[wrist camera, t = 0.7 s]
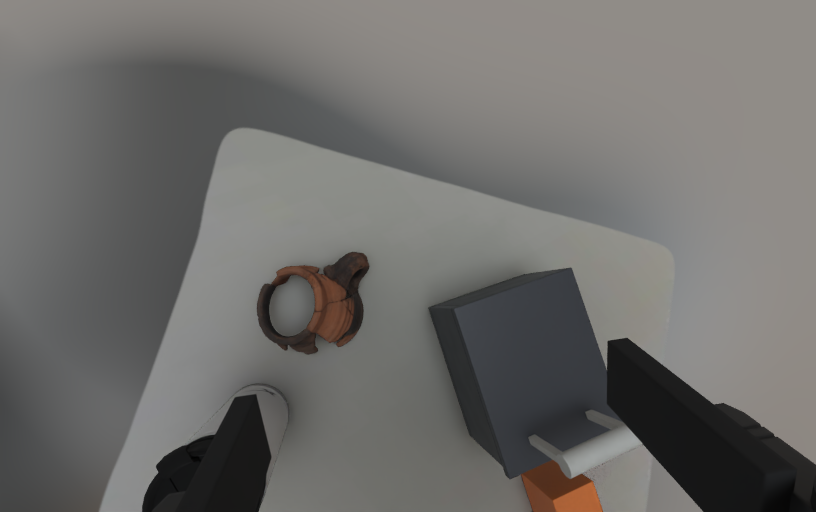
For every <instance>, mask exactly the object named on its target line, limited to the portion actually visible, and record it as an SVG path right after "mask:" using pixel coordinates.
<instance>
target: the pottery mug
mask: <svg viewBox="0 0 816 512" xmlns="http://www.w3.org/2000/svg"><path fill="white" fill-rule="evenodd" d="M368 269H369V263H368V260H367V257H366V256H365V255H364V254H363V253H357V252H351V253H348V254H346V255H345V256H343V257H342V258H340V259H339V260H338V261H337V262H336V263H335V264H333V265H328V266H326V267H325V268H324V270H323V271H324V274H325V275H323V274H319V273H318V272H319V268H317V267H313V266H305V265H304V266H290V267H285V268H282V269H280V270H278V271H277V272H276V273H277V277H276V278H275V279H274V281H273V282H272V284H264V285H263V287H262V289H261V291H260V294H259V298H258V303H257V315H258V317H259V318H258V320H259V324H260V327H261V328H262V331H263V333H264V334H265V335H266V336H267V337H268V338H269V339H270V340H272V341H273V342H274V343H277V344H278V345H279V346H280V347H281V348H282V349H284V350H285V351H286V350H287V349H288V347H287V346H288V345H289V346H290V347H291V348H292V349H294V350H296V351H298V352H304V353H305V354H312V353H316V352H317V351H318V348H317V347H316V346H315V338H316V334H318V335H319V336H321V337H322V338H324V339H325V340H326V341H328V342H329V343H331V342H336V341H338V340H339V339H340V337H341V336H343V338H342V339H341V340H340V341H339V342H337V343H336V345H337V346H338V347H341V346H343V345H344V344H346V343H347V342H349V341H350V340H351V339H352V338H353V337H354V336H355V335H356V333H357V332H358V330H359V328H360V326H361V323H362V320H363V304H362V301H361V298H360V296H359V293H358V290H357V289H358V286H359V283H360V281H361V279H362V278H363V277H364V275H365V274H366V273H367V271H368ZM291 275H298V276H301V277H303V278H305V279H306V280H308V282H309V283H310V285H311V287H312V289H313V291H314V296H315V309H314V313H313V316H312V319H311V321H310V322H309V324H308V325H307V327H306V329H305V330H303V331H302V332H301V333H299V334H297V335H295V336H290V337H287V336H282V335H281V334H279V333H278V332H277V331H276V330H275V329H274V327H273V326H272V323H271V320H270V315H269V304H270V299H271V296H272V294H273V292H274V290H275V288H276V287H277V286H278V285H281V284H284V283H286V282H287V280H288V279H289V277H290V276H291ZM346 291H347V292H348V294H349V295H350V296H349V297H347V298H346V294H347V293H346Z"/></svg>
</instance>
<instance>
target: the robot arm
mask: <svg viewBox="0 0 816 512" xmlns="http://www.w3.org/2000/svg"><path fill="white" fill-rule="evenodd" d="M607 405H608V406H609V407H610V408H611V409H612V410H613V411H614V412H615V414H616V415H617V416H618V417H619V418H620V419H621V420H622V421H623V422H624V424H625V425H626V426H627V427H628V428H629V429H630V430H631V431H632V433H633V434H634V435H635V436H636V437H637V438H638V439H639V440H640V441H641V443H642V444H643V445H644V446H645V447H646V448H647V449H648V450H649V451H650V453H651V454H652V455H653V456H654V457H655V458H656V459H657V460H658V461H659V463H660V464H661V465H662V466H663V467H664V468H665V469H666V470H667V472H668V473H669V474H670V475H671V476H672V477H673V478H674V479H675V480H676V481H677V483H678V484H679V485H680V486H681V487H682V488H683V489H684V490H685V492H686V493H687V494H688V495H689V496H690V497H691V498H692V499H693V501H695V503H696V504H697V505H698V506H699V507H700V508H701V509H702V511H703V512H816V465H815V464H814V463H812V462H811V461H810V460H808V459H807V458H806V457H804V456H803V455H802V454H800V453H799V452H798V451H796V450H795V449H793V448H792V447H791V446H789V445H788V444H786V443H785V442H784V441H782V440H781V439H780V438H778V437H775V436H774V434H773V433H771V432H770V431H769V430H767V429H766V428H765V427H761V425H760V424H759V423H758V422H756V421H755V420H754V419H752V418H751V417H750V416H748V415H747V414H745V413H744V412H742V411H739V410H737V409H735V408H733V407H731V406H728V405H726V404H724V403H721V404H715V405H714V404H712V403H711V402H710V401H708V400H707V399H706V398H705V397H703V396H702V395H701V394H699V393H698V392H697V391H695V390H694V389H693V388H691V387H690V386H689V385H688V384H686V383H685V382H684V381H682V380H681V379H680V378H679V377H677V376H676V375H675V374H673V373H672V372H671V371H670V370H668V369H667V368H666V367H664V366H663V365H662V364H660V363H659V362H658V361H657V360H655V359H654V358H653V357H651V356H650V355H649V354H647V353H646V352H645V351H644V350H642V349H641V348H640V347H638V346H637V345H636V344H634V343H633V342H632V341H631V340H629V339H628V338H623V339H617V340H610V341H608V353H607ZM271 458H272V456H271V452H270V448H269V444H268V440H267V436H266V431H265V427H264V423H263V419H262V415H261V411H260V407H259V403H258V399H257V395H256V394H252V395H245V396H239V397H235V398H234V399H233V401H232V403H231V405H230V407H229V409H228V411H227V413H226V415H225V417H224V419H223V421H222V422H221V424H220V426H219V428H218V430H217V432H216V434H215V436H214V438H213V440H212V442H211V444H210V445H209V447H208V449H207V451H206V453H205V455H204V457H203V459H202V461H201V463H200V465H199V467H198V468H197V470H196V472H195V474H194V476H193V478H192V480H191V482H190V484H189V486H188V488H187V490H186V491H182V492H176V493H170V494H168V495H167V496H166V497H165V498H164V499H163V500H162V501H161V502H160V503H159V504H158V505H157V506H156V507H155V508H154V509H153V510H152V512H255V510H256V507H257V504H258V500H259V497H260V494H261V491H262V487H263V484H264V481H265V478H266V474H267V471H268V468H269V464H270V461H271Z"/></svg>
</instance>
